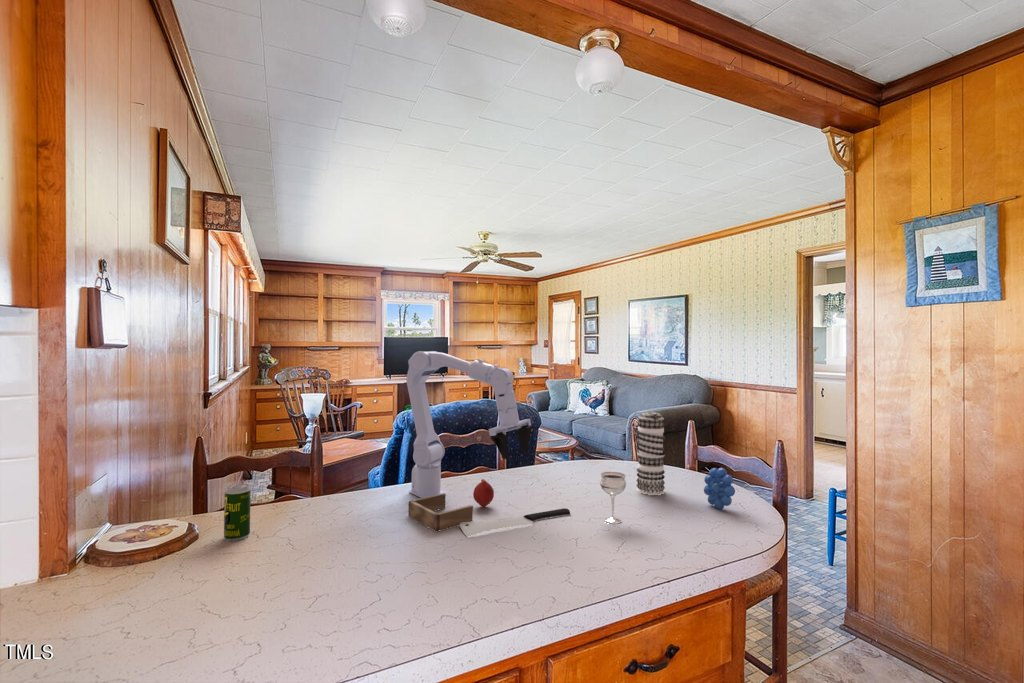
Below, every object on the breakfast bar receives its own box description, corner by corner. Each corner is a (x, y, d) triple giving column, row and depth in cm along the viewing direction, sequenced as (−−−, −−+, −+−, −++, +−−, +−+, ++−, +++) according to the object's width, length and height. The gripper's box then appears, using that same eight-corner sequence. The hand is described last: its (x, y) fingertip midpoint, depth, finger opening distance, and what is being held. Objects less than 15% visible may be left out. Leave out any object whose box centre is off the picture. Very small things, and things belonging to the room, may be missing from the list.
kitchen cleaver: (470, 539, 111) (457, 520, 120) (470, 546, 111) (456, 526, 120) (583, 520, 124) (563, 504, 133) (582, 527, 124) (563, 510, 133)
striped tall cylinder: (631, 487, 155) (631, 411, 155) (658, 487, 156) (658, 411, 156) (641, 496, 146) (642, 415, 146) (670, 495, 147) (671, 414, 147)
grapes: (746, 514, 131) (746, 470, 131) (726, 516, 129) (726, 472, 129) (717, 501, 142) (717, 460, 142) (698, 502, 140) (698, 462, 140)
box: (408, 516, 127) (408, 501, 127) (443, 507, 134) (443, 493, 134) (436, 531, 116) (436, 515, 116) (472, 521, 123) (472, 505, 123)
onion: (484, 502, 139) (484, 475, 139) (497, 507, 135) (498, 479, 135) (469, 506, 135) (469, 478, 135) (482, 512, 130) (482, 482, 131)
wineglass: (615, 527, 120) (615, 480, 120) (594, 519, 125) (594, 474, 125) (631, 521, 125) (631, 475, 125) (610, 514, 130) (610, 470, 130)
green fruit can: (231, 533, 114) (232, 483, 114) (254, 532, 115) (255, 483, 115) (218, 542, 109) (219, 489, 109) (242, 542, 109) (243, 489, 109)
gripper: (496, 412, 130) (505, 461, 129) (534, 403, 140) (542, 449, 139) (481, 414, 136) (489, 461, 135) (518, 405, 145) (527, 449, 144)
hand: (515, 455), depth 137 cm, fingers open, 7 cm apart
